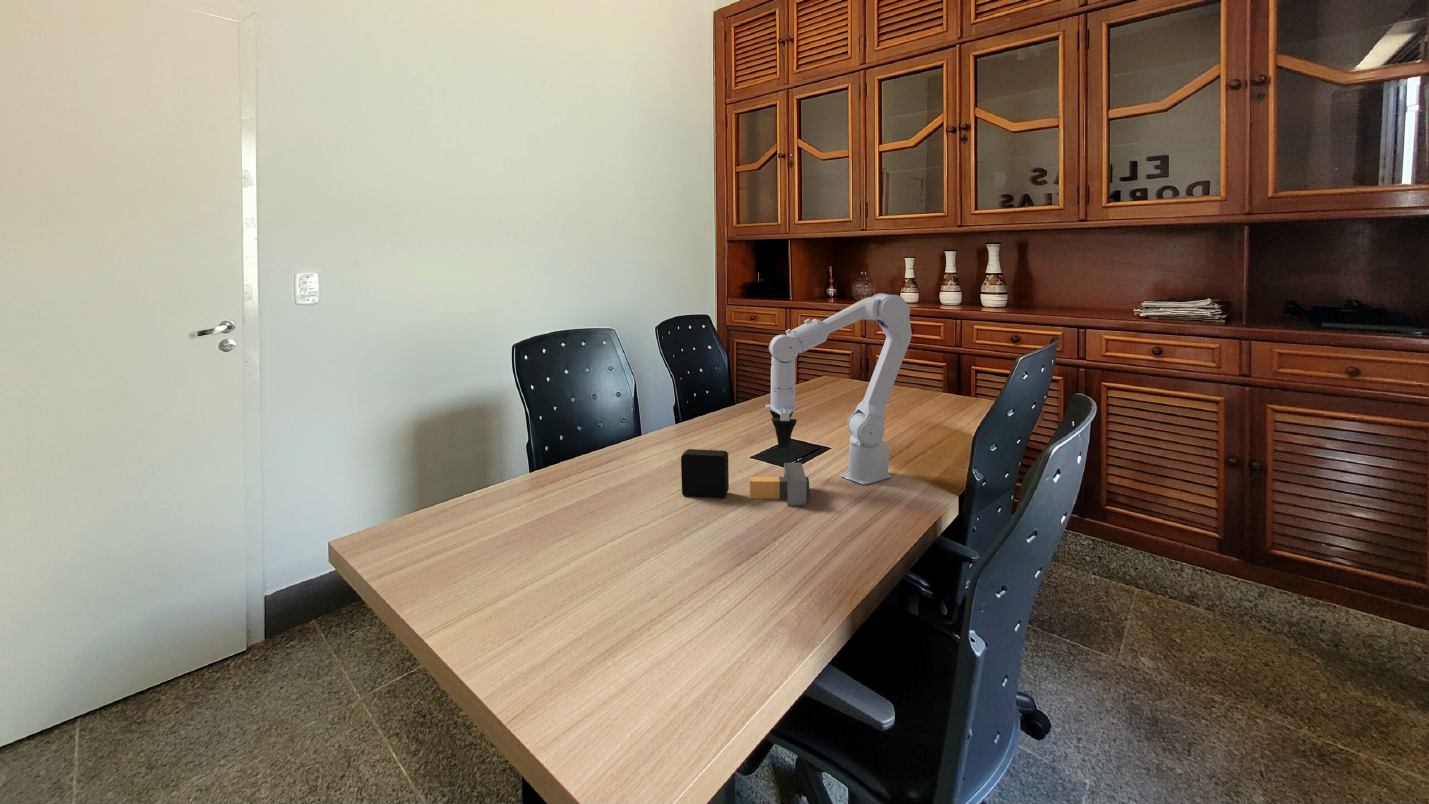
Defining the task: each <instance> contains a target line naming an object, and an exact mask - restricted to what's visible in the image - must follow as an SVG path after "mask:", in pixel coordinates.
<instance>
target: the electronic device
mask: <svg viewBox="0 0 1429 804" xmlns="http://www.w3.org/2000/svg"><path fill="white" fill-rule="evenodd" d="M680 467H681V468H680V471H681V474H680V475H681V494H682V496H683V497H686V498H699V499H700V498H703V499H717V500H722V499H725V498H726V496H727V494H728V492H729V489H730V488H729V478H730V477H729V474H730V473H729V471H730V470H729V452H727V451H726V450H721V449H720V450H719V449H718V450H716V449H715V450H714V449H695V448H688V449H686V450H684V451H683V452H682V453H681V457H680Z"/></svg>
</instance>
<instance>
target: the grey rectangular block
mask: <svg viewBox="0 0 1429 804" xmlns="http://www.w3.org/2000/svg"><path fill="white" fill-rule="evenodd" d="M783 477H786V478H787V486H786V499H785V500H786V505H787V507H807V499H806V493H807V480H806V477H807V476H806V474H805V470H804V466H803V464H802V462H784V463H783Z"/></svg>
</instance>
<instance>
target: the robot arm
mask: <svg viewBox="0 0 1429 804" xmlns="http://www.w3.org/2000/svg"><path fill="white" fill-rule="evenodd" d="M910 313H911V308H910V306H909V305H908V304H907V302H906V300H905V299H904V298H903V297H901V295H898V294H887V293H883V292H880V293H876V294H874V295H873V296H869V297H865V298H863V299H861V300H859V301H856V302H855V303H853V304H852V305H850V306H848V307H845V308H844V309H841V310H840V311H838V312H836V313H835V314H833V315H831V316H829V317H827V318H826V319H824V320H820V319H817V318H814V319H812V320H811V318H807V319H805V320H804V321H803V322H804V323H803V324H801V325H799V326H797V327H795V328H794V329H790V328H789V329H787V330H785V333H786V334H778V335H775V336H774V337H773V338H772V340H770V342H769V346H768V351H769V353H770V355H771V360H770V364H771V367H770V404H765V409H766V410H769V413H770V414H771V422H772V424H773V426H774V430H775V435H776V440H777V443H778V445H777V446H778V448H779V449H789V447H790V444H791V443H790V442H791V438H792V433H793V430H794V429H795V426H796V424H797V422H798V420H797V419H796V418H792V415H793V414H794V411H796V409H797V404H796V376H797V375H796V359H797V357H798V355H799V354H803V353H805V352H807V351H808V350H811V349H813V348H815V347H816V346H819V345H821V344H823V343H824V342H826V341H827V339H828V337H829V334H830V333H833V332H835V331H838V330H840V329H842V328H844V327H847V326H849V325H851V324H854V323H856V322H858V321H860V320H865V321H866V320H868V321H875V322H876V323H877V324H878V325H879V326H880V328H881V329H882V332H883V334H884V335H885V337H886V338H885V341H884V344H883V347H882V349H881V352H880V354H879V357H878V359H877V361H876V364H875V367H874V370H873V372H872V376H871V378H870V381H869V383H868V385H867V389H866V392H865V394H864V396H863V399H862V400H861V402H859V403H858V404H857V405H856V408H855V410H854V412H853V413H851V415H850V416H849V417H848V419H847V423H846V425H847V429H848V431H849V432H850V433H851V435H850V437H849V440H848V459H847V460H848V464H847V472H843V473H841V474H840V475H839V476H840V477H842V478H845V479H846V480H849V481H852V482H854V483H858V484H860V485H864V486H865V485H871V484H872V483H876V482H879V481H883V480H886V479H890V478H891V477H892V476H891V474H889V461H890V451H889V450H890V449H889V447H888V444H887V443H886V442H885V441H884V440H882V439H883V437H884V435H885V430H884V429H885V428H884V426H885V425H884V424H885V422H886V409H885V408H886V405H887V403H888V400H889V398H890V396H891V395H890V394H891V392H892V389H893V386H894V384H895V382H896V379H897V377H898V374H899V371H900V370H901V367H902V364H903V360H904V358H905V355H906V353H907V350H908V348H909V345H910V343H911V340H912V336H913V335H912V326H911V319H910Z"/></svg>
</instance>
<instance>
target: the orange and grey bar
mask: <svg viewBox="0 0 1429 804" xmlns="http://www.w3.org/2000/svg"><path fill="white" fill-rule="evenodd" d="M806 480H807V493H806V500H808V499H810V479H809V476H806ZM786 486H787V478H786V477H784V476H749V497H750V498H749V499H763V500H764V499H767V500H768V499H769V500H770V499H771V500H773V499H778V500H779V499H785V500H786Z"/></svg>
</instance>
